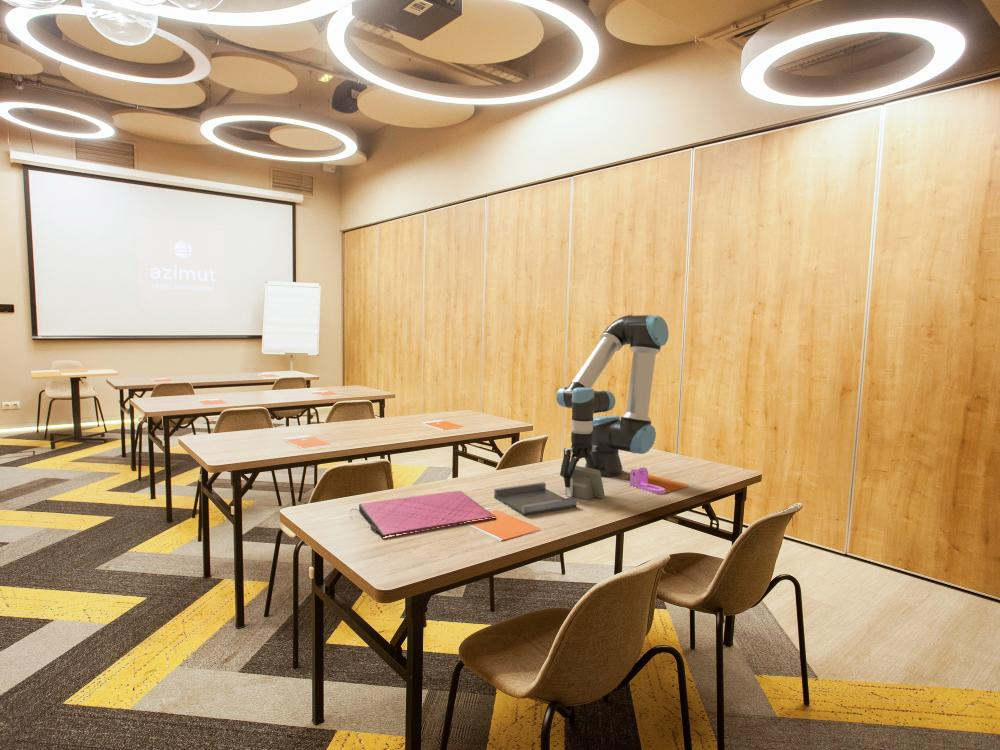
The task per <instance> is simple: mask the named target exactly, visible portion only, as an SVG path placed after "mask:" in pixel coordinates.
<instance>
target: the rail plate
mask: <svg viewBox="0 0 1000 750" xmlns="http://www.w3.org/2000/svg"><path fill="white" fill-rule="evenodd" d="M546 484H547V483H546V482H544V481H542V482H535V483H528V484H520V485H514V486H506V487H499V488H494V491H493V493H494V494H493V496H494V497H493V498H495V499H496V500H498V501H499V502H501V503H502V502H503V503H502V504H504V505H506V506H507V505H508V506H507V507H509V508H510V507H511V508H510V509H512V510H513V511H515V512H517V513H518V512H519V514H520V515H522V516H524V517H528V516H532V515H533V514H534V515H538V514H539V513H540V514H545V513H544V512H546V513H550V512H557V511H563V510H567V509H574V508H577V506H578V505H577V504H578V503H577V502H578V498H576V497H567V498H565V497H563V496H561V495H560V494H557V493H555V492H553V491H551V490H549V489H547V487H546ZM527 515H528V516H527Z"/></svg>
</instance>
